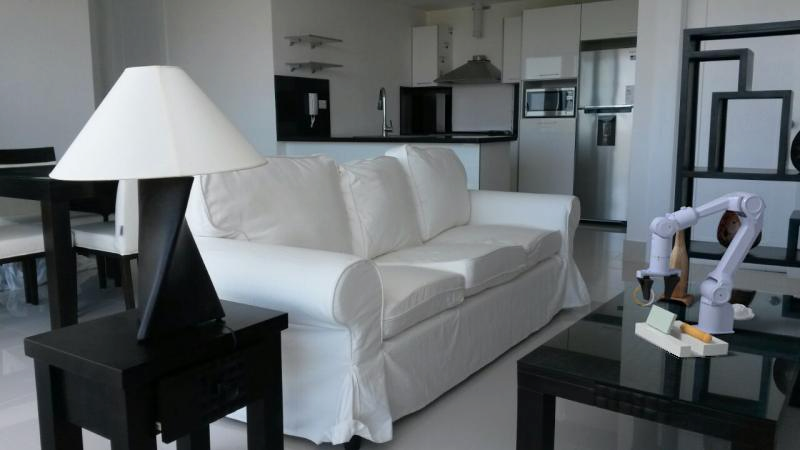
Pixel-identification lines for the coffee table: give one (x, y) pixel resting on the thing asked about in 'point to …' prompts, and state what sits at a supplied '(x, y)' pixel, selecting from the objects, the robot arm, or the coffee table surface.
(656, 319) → the cover
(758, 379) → the coffee table surface
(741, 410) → the coffee table surface
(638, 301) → the ring
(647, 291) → the robot arm
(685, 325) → the orange rounded rod
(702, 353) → the board
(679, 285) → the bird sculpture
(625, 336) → the coffee table surface
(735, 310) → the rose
